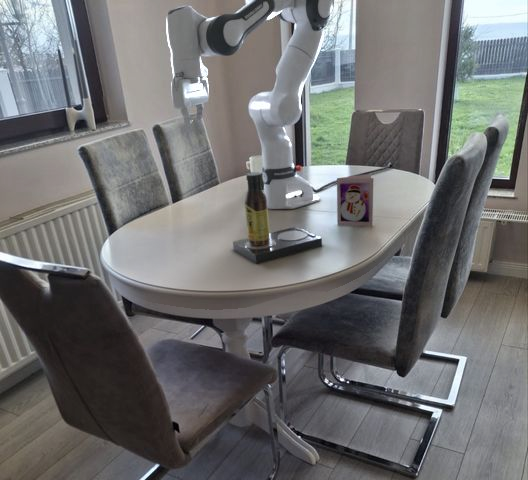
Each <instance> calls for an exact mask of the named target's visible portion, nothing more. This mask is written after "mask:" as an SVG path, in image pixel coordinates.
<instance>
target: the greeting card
mask: <svg viewBox="0 0 528 480" xmlns="http://www.w3.org/2000/svg"><path fill="white" fill-rule="evenodd" d="M349 176H350V177H348V176H344V177H337V178H336V180H337V183H336V204H337V205H336V213H337V214H336V215H337V217H336V219H337V220H336V221H337V226H340V227H341V226H342V227H343V226H344V227H373V219H374V217H373V216H374V177H372V173H370V174H364V175H357V176H352V175H349Z"/></svg>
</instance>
